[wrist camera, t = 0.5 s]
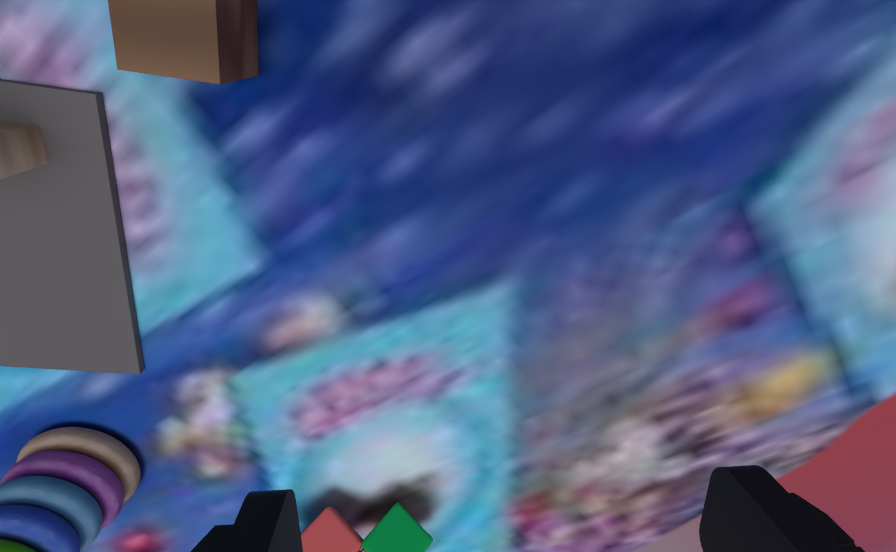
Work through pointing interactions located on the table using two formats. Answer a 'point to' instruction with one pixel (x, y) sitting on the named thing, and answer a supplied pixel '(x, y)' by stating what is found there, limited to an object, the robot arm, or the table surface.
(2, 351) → the mat
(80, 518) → the stacking toy
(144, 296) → the table surface
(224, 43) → the block
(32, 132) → the tile
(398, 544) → the building blocks
